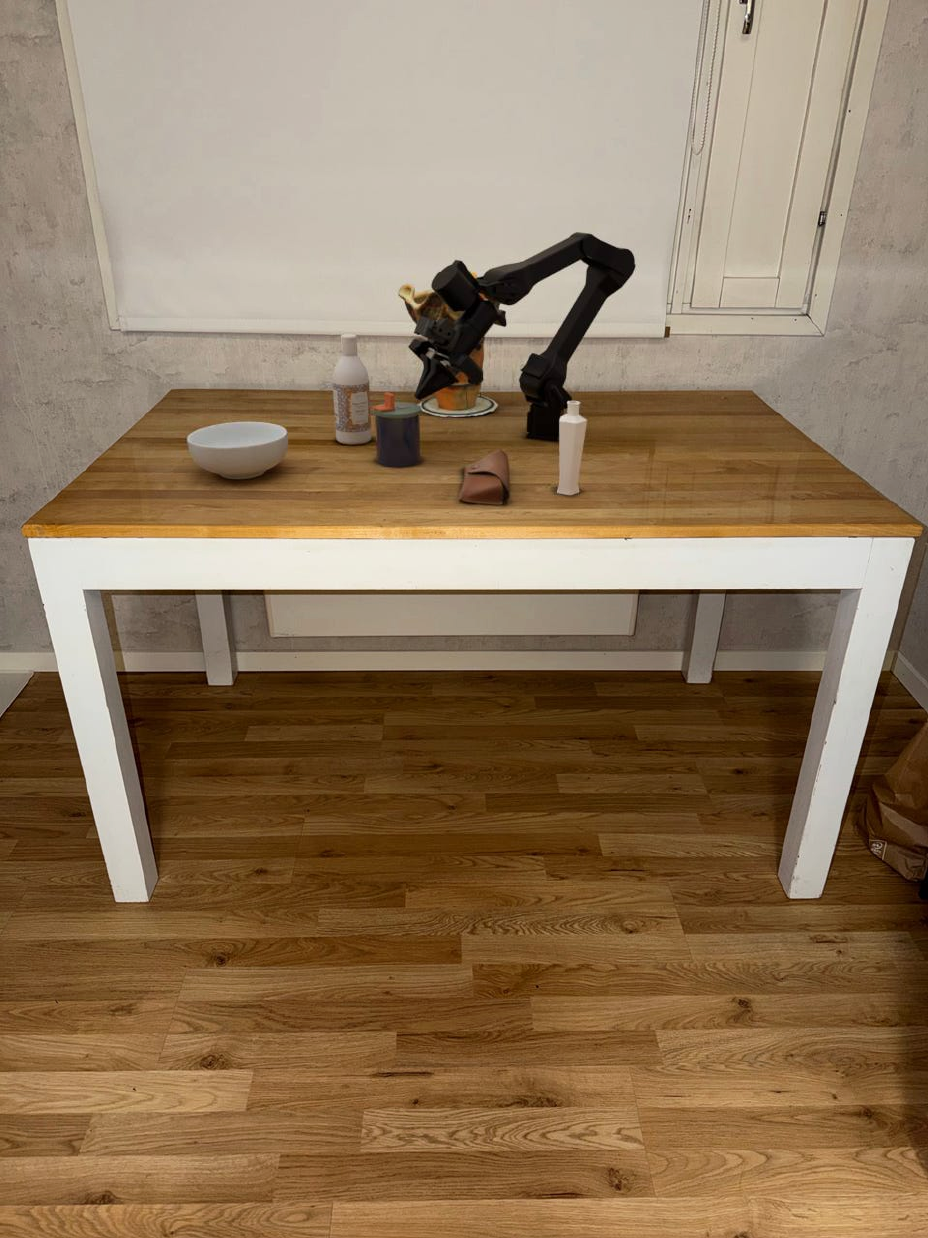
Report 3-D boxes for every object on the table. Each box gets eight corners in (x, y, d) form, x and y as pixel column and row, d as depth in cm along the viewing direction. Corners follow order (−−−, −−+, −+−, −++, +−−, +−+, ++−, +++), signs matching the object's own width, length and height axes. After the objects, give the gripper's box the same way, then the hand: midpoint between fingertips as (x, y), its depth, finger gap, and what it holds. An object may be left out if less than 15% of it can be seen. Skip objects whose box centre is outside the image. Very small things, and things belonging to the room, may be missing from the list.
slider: (388, 406, 155) (387, 391, 154) (395, 409, 153) (394, 395, 152) (373, 408, 154) (372, 393, 152) (380, 412, 151) (379, 397, 150)
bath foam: (346, 447, 166) (339, 339, 156) (330, 438, 171) (323, 333, 161) (377, 441, 169) (373, 336, 160) (361, 433, 174) (356, 330, 165)
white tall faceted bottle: (580, 496, 143) (587, 406, 136) (554, 495, 143) (559, 405, 136) (582, 487, 147) (589, 399, 140) (556, 485, 147) (561, 398, 140)
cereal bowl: (291, 455, 161) (287, 418, 157) (290, 485, 146) (287, 444, 143) (197, 460, 158) (191, 421, 155) (187, 490, 144) (181, 449, 140)
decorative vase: (385, 409, 191) (380, 273, 178) (454, 390, 206) (455, 265, 193) (455, 426, 179) (456, 283, 166) (523, 406, 194) (529, 273, 181)
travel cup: (408, 450, 164) (407, 399, 160) (430, 463, 158) (429, 410, 153) (367, 457, 160) (365, 405, 156) (387, 470, 154) (386, 416, 149)
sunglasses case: (460, 465, 155) (479, 434, 152) (493, 485, 156) (513, 454, 154) (457, 501, 139) (479, 467, 136) (494, 522, 141) (516, 489, 138)
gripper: (416, 291, 157) (364, 359, 157) (468, 305, 143) (411, 380, 143) (454, 332, 164) (404, 397, 165) (507, 349, 150) (452, 420, 151)
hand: (416, 398), depth 156 cm, fingers closed
